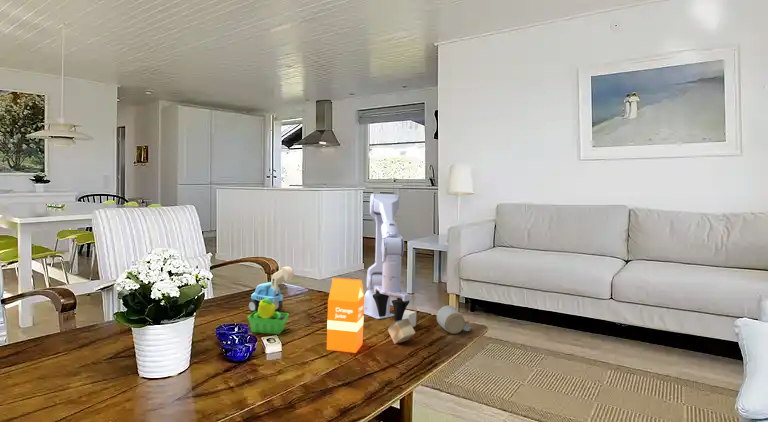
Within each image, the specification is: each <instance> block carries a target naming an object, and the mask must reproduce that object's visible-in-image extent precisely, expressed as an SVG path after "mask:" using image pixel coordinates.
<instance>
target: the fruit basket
mask: <svg viewBox="0 0 768 422" xmlns="http://www.w3.org/2000/svg"><path fill="white" fill-rule="evenodd" d="M275 308H276V307H275V305H274V304H273V303H272V302H271V301H270V299H268V298H265V299H263V300H261V301H260V303H259V307H258V310H257V311H252V313H251V314H249V315H248V316H247V320H248V322H249V323H248V324H249V327H250V330H251V333H260V334H271V335H272V334H273V335H280V334H281V333H282V332H283V331H284V330H285V328H286V325H287V324H286V323H287V321H288V317H289V315H290V314H289V313H288V312H279V310H275Z"/></svg>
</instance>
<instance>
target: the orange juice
mask: <svg viewBox="0 0 768 422" xmlns="http://www.w3.org/2000/svg"><path fill="white" fill-rule="evenodd" d="M329 291H330V292H329V294H328V295H329V296H328V299H327V321H326V323H327V325H326V329H327V330H326V350H327V351H338V352H345V353H346V352H347V353H354V354H356V353H357V352H358V351H359V350H360V348H361V347H362V345H363V340H364V338H363V337H364V319H365V318H364V317H365V316H364V315H365V314H364V296H365V294H364V288H363V281H362V279H353V278H340V277H332V281H331V285H330V290H329Z"/></svg>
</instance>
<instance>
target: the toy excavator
mask: <svg viewBox="0 0 768 422" xmlns="http://www.w3.org/2000/svg"><path fill="white" fill-rule="evenodd" d="M280 269H281V270H278V271H276V272H274V273H273V274H272V276H271V280H270V281H268V282H264V283H260V284H258V285H257V286H256V288H255V291H254V292H253V293H252V294H251V296H250V298H251V300H250V301H249V302H248V306H247V308H248V309H249V311H250V312H255V311H258V307H259V303H260V301H261V300H263V299H265V298H268V299H270V301H271V302H272V303H273V304H274V305H275V307H276V308H275V311H280V310H281V309H282V308H283V307H284V306H283V304H284V302H283V300H284V295H283V294H282V293H281V291H282V290H281V287H279V280H280V279H281V278H284V282H289V281H292V280H293V278H294V276H295V275H294V273H295V272H294V270H293V268H292V267H291V266H283V267H281V268H280Z"/></svg>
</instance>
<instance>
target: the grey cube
mask: <svg viewBox="0 0 768 422" xmlns="http://www.w3.org/2000/svg"><path fill="white" fill-rule="evenodd" d="M407 318H408V319H409V321H410V323H411V325H412V327H413V328H415V327H417V311H413V310H409V309H405V311H404V314H403V317H402V320H403V319H407Z"/></svg>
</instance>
